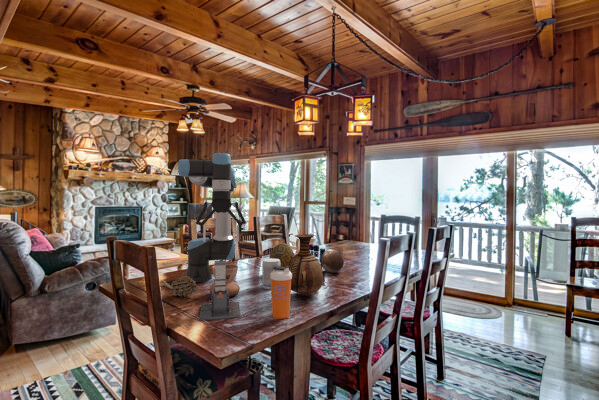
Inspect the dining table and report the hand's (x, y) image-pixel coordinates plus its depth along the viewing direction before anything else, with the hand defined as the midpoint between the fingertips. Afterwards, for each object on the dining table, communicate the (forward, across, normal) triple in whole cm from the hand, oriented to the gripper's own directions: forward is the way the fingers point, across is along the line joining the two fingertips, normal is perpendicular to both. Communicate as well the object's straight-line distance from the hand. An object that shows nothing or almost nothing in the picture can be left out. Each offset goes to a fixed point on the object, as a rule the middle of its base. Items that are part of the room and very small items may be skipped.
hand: (221, 241), depth 137 cm
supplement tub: (+30, +26, +31) cm, 50 cm away
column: (+29, 0, 0) cm, 29 cm away
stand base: (+30, 0, 0) cm, 30 cm away
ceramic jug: (+30, +2, +23) cm, 38 cm away
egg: (+30, +36, +54) cm, 72 cm away
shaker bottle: (+30, +24, -10) cm, 40 cm away
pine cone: (+30, -20, +26) cm, 45 cm away
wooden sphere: (+30, +69, +56) cm, 94 cm away
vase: (+30, +40, +13) cm, 52 cm away
